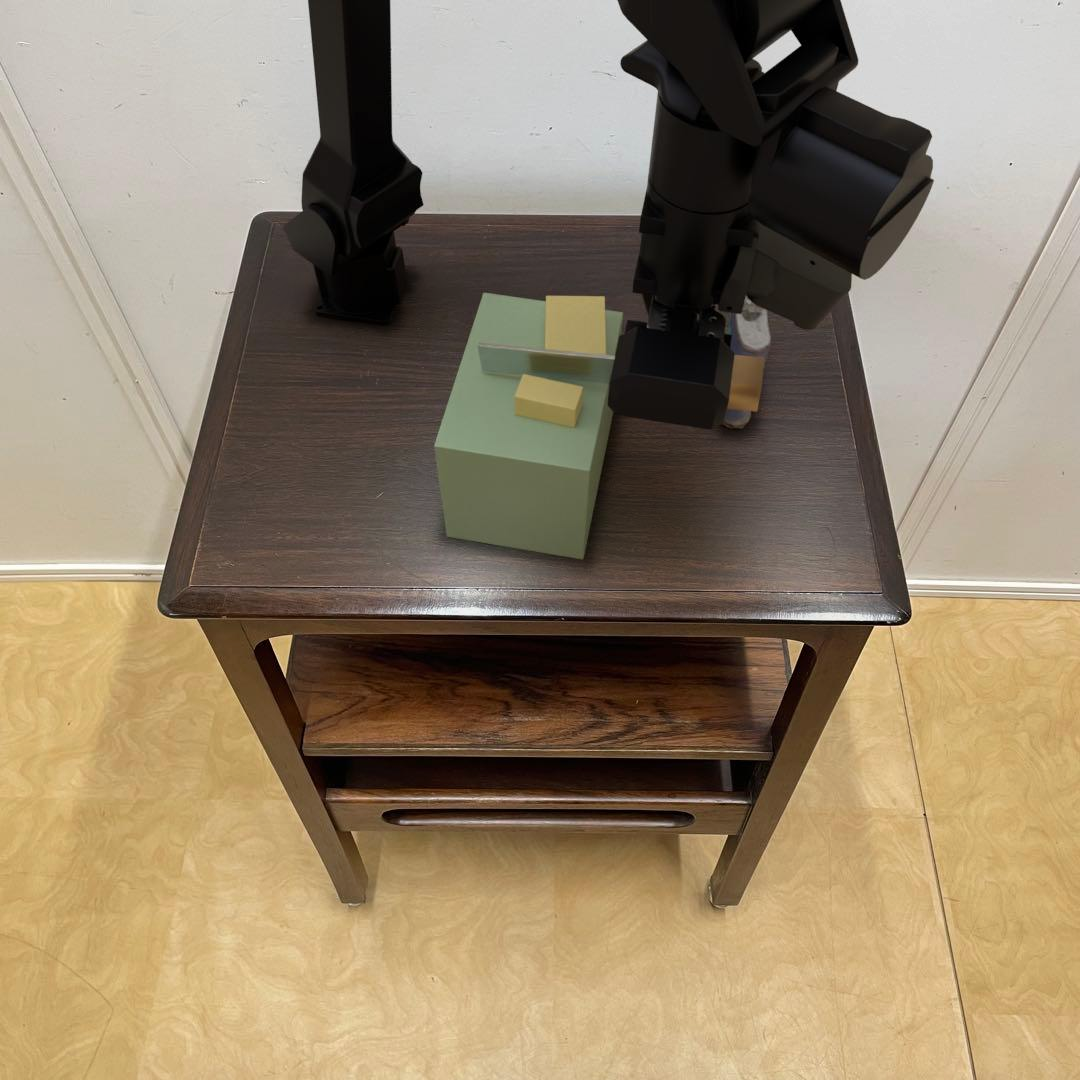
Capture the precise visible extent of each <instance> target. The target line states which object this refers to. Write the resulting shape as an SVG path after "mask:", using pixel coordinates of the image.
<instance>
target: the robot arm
mask: <svg viewBox="0 0 1080 1080" xmlns="http://www.w3.org/2000/svg"><path fill="white" fill-rule="evenodd" d="M616 1H617V3H618V7H619V9H620V11H621V14H622V15H623V16H624V17H625V19H626V20H627V21H628V22H629V23H630V24H631V25H632V26H633V27H634V28H635V29H636V30H637V31H638V32H639V33H640V34H641V35H642V36H643V37H644V38H645V39H646V40H645V41H644V42H642V43H641V44H639V45H637V47H635V48H633V49H632V50H631V51H628V53H626V54H624V55H623V56H622V57H621V58H620V61H619V64H620V68H621V69H622V71H623V72H624V73H626V74H628V75H630V76H632V77H634V78H636V79H638V80H640V81H642V82H644V83H646V84H648V85H650V86H652V87H653V88H655V89H656V90H657V93H656V94H657V96H656V104H655V113H654V121H653V122H654V123H653V129H652V131H653V132H652V140H651V147H650V155H649V156H650V157H649V164H648V165H649V166H648V175H647V184H646V190H645V194H644V199H643V204H642V208H641V214H640V219H639V229H638V233H639V234H641V236H640V246H639V253H638V257H637V262H636V267H635V271H634V274H633V275H634V276H633V281H632V282H633V283H632V291H631V292H632V294H638V295H641V296H642V299H643V303H644V306H645V309H646V313H647V321H640V320H632V319H627V320H626V324H625V329H624V333H623V334H621V336H619V340H618V345H617V350H616V354H615V359H614V364H613V369H612V373H611V378H610V383H609V394H608V405H607V406H608V407H609V408H610V409H611V410H612V411H613V414H614V415H616V416H620V417H626V418H632V419H640V420H644V421H645V420H646V421H651V422H657V423H665V424H673V425H678V426H684V427H691V428H697V429H702V430H703V429H705V430H711V431H712V430H714V429H716V428H717V427H719V426H721V425H723V422H724V418H725V414H726V410H727V406H728V402H729V396H730V388H731V380H732V372H733V364H734V356H735V353H734V352H733V351H732V350H731V349H730V348H731V340H732V335H731V334H726V333H725V331H726V323H727V319H726V316H725V315H724V314H723V313H730V314H731V313H736V314H742V310H743V306H744V301H745V297H746V296H747V297H748V299H749V300H750V301H751V302H752V303H754V304H755V305H757V306H759V307H761V308H764V309H766V310H768V312H770V313H773V314H775V315H777V316H780V317H782V318H784V319H787V320H788V321H791V322H793V323H794V326H795V327H798V328H800V329H801V330H802V329H803V330H806V331H814V330H816V329H817V328H818V327H819V326H820V324H821V323H822V322H823V321H824V320H825V319H826V318H827V317H828V316H829V314H830V313H831V312H832V311H833V310H834V309H835V308H836V307H837V306H838V305H839V303H841V301H842V300H843V299H844V298H845V297H846V296H847V295H848V294H849V293H850V291H851V290H852V282H853V280H852V279H853V276H855V277H857V278H859V279H861V280H863V281H866V280H868V279H870V278H872V277H873V276H874V275H876V274H877V273H878V272H879V271H880V270H881V269H882V268H883V267H884V266H885V265H886V264H887V263H888V262H889V260H890V259H891V258H892V257H893V256H894V254H895V253H896V251H898V249H899V247H900V246H901V245H902V244H903V241H904V240H905V239H906V237H907V235H908V234H909V232H910V231H911V229H912V227H913V226H914V224H915V222H916V221H917V219H918V217H919V215H920V213H921V211H922V210H923V208H924V206H925V204H926V202H927V199H928V197H929V195H930V192H931V189H932V188H933V185H934V182H935V179H934V178H932V172H933V169H934V159H933V158H932V156H931V155H929V154H927V152H928V149H929V146H930V144H931V141H932V138H933V135H932V132H931V130H930V129H929V128H926V127H924V126H921V125H919V124H917V123H915V122H913V121H911V120H908V119H905V118H902V117H897V116H892V115H888V114H886V113H884V112H881V111H879V110H877V109H875V108H873V107H871V106H869V105H866V104H865V103H862V102H860V101H858V100H856V99H854V98H852V97H850V96H848V95H845V94H843V93H842V92H839V91H837V90H838V87H839V83H840V82H841V80H843V79H844V78H845V77H846V76H848V75H849V74H850V73H851V72H853V71H854V70H855V69H856V68H858V67H857V66H858V65H859V56H858V54H857V51H856V47H855V44H854V40H853V37H852V33H851V29H850V27H849V24H848V23H849V22H848V21H847V17H846V13H845V11H844V7H843V4H842V0H616ZM307 5H308V6H307V7H308V16H309V28H310V38H311V49H312V58H313V70H314V83H315V92H316V103H317V115H318V124H319V125H318V126H319V140H318V141H317V143H316V144H315V145H316V146H315V147H314V149H313V152H312V154H311V156H310V158H309V159H308V161H307V164H306V166H305V167H304V170H303V172H302V182H301V210H302V211H300V213H298V214H296V215H295V216H294V217H292V218H291V219H290V220H289V221H287V222H286V223H285V224H283V225H282V229H283V232H284V234H285V237H286V239H287V241H288V243H289V245H290V248H291V249H292V250H293V251H294V252H295V253H297V254H298V255H299V256H301V257H302V258H303V259H305V260H307V262H309V263H311V264H312V266H313V270H314V274H315V279H316V282H317V286H318V291H319V296H318V299H317V301H316V303H315V305H314V312H315V315H317V316H321V317H326V318H333V319H341V320H346V321H355V322H360V323H367V324H368V323H369V324H375V325H381V326H386V325H389V324H390V323H391V320H392V319H393V316H394V314H395V313H394V312H395V311H396V307H397V306H399V305H400V304H401V301H402V299H403V298H404V295H405V291H406V289H407V286H408V276H409V274H408V269H407V268H406V265H405V264H406V263H405V257H404V251H403V248H402V247H401V246H399V245H397V242H396V237H395V231H397V230H398V229H399V228H401V227H405V226H406V225H408V224H409V222H410V218H411V217H413V216H414V215H415V213H416V212H417V210H419V209H421V208H422V207H424V205H425V204H424V202H423V201H424V200H423V197H422V191H421V183H422V177H423V171H422V169H421V168H420V167H419V166H418V165H416V164H414V163H413V162H412V161H411V159H410V158H409V157H408V156H407V155H406V154H405V153H404V151H403V150H402V149H401V148H400V147H399V146H398V145H397V143H396V142H395V141H394V137H393V106H392V105H393V96H392V95H393V93H392V90H393V89H392V23H391V21H392V19H391V17H392V16H391V11H392V10H391V0H307ZM789 32H791V33H792V34H793V35H794V37H795V39H796V40H797V41H798V43H799V44H800V46H798V47H797V48H796V49H794V50H793V51H792V52H790V53H789V54H788V55H786V56H785V57H784V58H783V59H781V60H780V61H778V62H777V63H776V64H775V65H773V66H772V67H770V68H769V69H768V70H767V71H766V72H764V71H763V66H762V65H761V63H760V62H759V61H757V60H756V59H754V58H755V57H757V56H758V55H760V54H761V53H762V52H764V51H765V50H766V49H768V48H769V47H770V46H772V45H773V44H775V43H776V42H777V41H779V40H780V39H781V38H783V37H784V36H785V35H786V34H788V33H789ZM716 306H717V309H716Z"/></svg>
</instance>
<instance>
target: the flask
mask: <svg viewBox="0 0 1080 1080" xmlns="http://www.w3.org/2000/svg"><path fill="white" fill-rule="evenodd" d="M725 334H731V335H732V340H731V348H730V349H731V350H732V351H733V352H734V353H735V355H742V356H752V357H763V358H764V366H765V364H766V361H767V358H768V356H769V351H770V349H771V347H772V339H773V338H772V337H773V336H772V333H771V329H770V324H769V311H768V310H766V309H764V308H761V307H759V306H757V305H755V304H754V303H752V302H751V301H750V300H749V299H748V297H747V296H746V297H745V301H744V306H743V310H742V314H736V313H730V314H729V320H728V325H727V329H726V333H725ZM751 416H752V411H745V410H735V409H727V410H726V414H725V418H724V422H723V424H722V425H723V426H725V427H727V428H729V429H744V427H746V425H747V424H748V423H749V422H750V419H751Z"/></svg>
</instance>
